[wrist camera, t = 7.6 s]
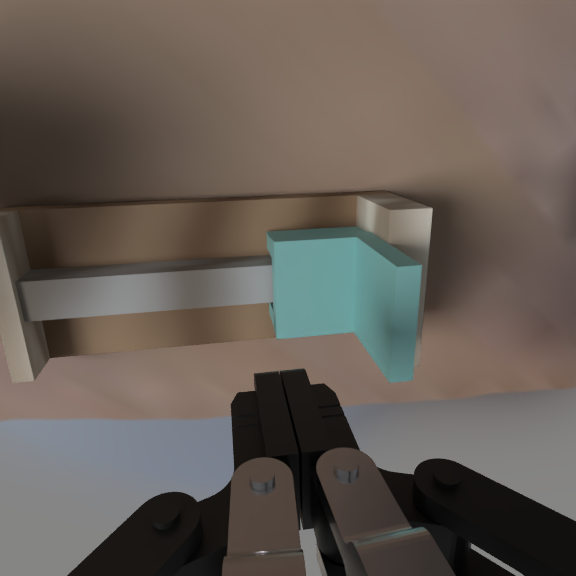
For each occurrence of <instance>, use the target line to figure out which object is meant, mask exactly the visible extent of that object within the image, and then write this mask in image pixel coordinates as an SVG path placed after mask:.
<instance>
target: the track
mask: <svg viewBox="0 0 576 576" xmlns="http://www.w3.org/2000/svg"><path fill="white" fill-rule="evenodd" d="M432 211H433V208H431V207H428V206H426V205H423V204H420V203H417V202H414V201H412V200H409V199H406V198H403V197H401V196H398V195H395V194H392V193H390V192H387V191H366V192H343V193H321V194H298V195H275V196H253V197H230V198H208V199H185V200H163V201H140V202H118V203H95V204H72V205H50V206H27V207H6V208H3V209H0V336H1V340H2V344H3V348H4V352H5V356H6V360H7V363H8V367H9V371H10V375H11V379H12V383H18V382H28V381H35V379H36V378H37V376H38V375H39V373H40V372H41V370H42V369H43V367H44V366H45V365H46V363H47V362H48V360H49V359H50V358H55V357H66V356H77V355H89V354H100V353H111V352H122V351H133V350H144V349H155V348H166V347H177V346H188V345H199V344H210V343H221V342H232V341H243V340H254V339H265V338H276V335H275V332H274V326H273V323H272V320H271V317H270V314H269V303H270V302H273V278H272V257H271V255H270V253H269V251H268V249H267V236H266V231H284V230H302V229H320V228H338V227H356V226H358V227H359V228H361V229H362V230H364V231H365V232H371V233H373V234H375V235H376V236H378V237H379V238H381V239H382V240H384V241H385V242H387V243H389V244H390V245H392V246H393V247H395V248H396V249H398V250H399V251H401V252H402V253H404V254H406V255H407V256H409V257H410V258H412V259H413V260H415V261H416V262H418V263H419V264H421V265H422V272H421V284H420V297H419V309H418V321H417V333H416V346H415V358H414V367H419V362H420V351H421V339H422V327H423V316H424V304H425V292H426V281H427V269H428V258H429V246H430V234H431V223H432Z"/></svg>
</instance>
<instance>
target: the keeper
mask: <svg viewBox="0 0 576 576" xmlns="http://www.w3.org/2000/svg"><path fill="white" fill-rule="evenodd" d="M266 236H267V249H268V251H269V253H270V255H271V257H272V278H273V302H270V303H269V314H270V317H271V320H272V323H273V326H274V332H275V335H276V338H277V339H284V338H295V337H306V336H317V335H328V334H339V333H350V332H354V333H355V335H356V336H357V337H358V339H359V340H360V342H361V343H362V344H363V346H364V347H365V349H366V350H367V351H368V353H369V354H370V356H371V357H372V358H373V360H374V361H375V363H376V364H377V365H378V367H379V368H380V370H381V371H382V373H383V374H384V375H385V377H386V378H387V380H388V381H389V382H390V383H392V382H401V381H410V380H413V370H414V358H415V346H416V333H417V321H418V309H419V297H420V284H421V272H422V265H421V264H419V263H418V262H416V261H415V260H413V259H412V258H410V257H409V256H407V255H406V254H404V253H402V252H401V251H399V250H398V249H396V248H395V247H393V246H392V245H390V244H389V243H387V242H385V241H384V240H382V239H381V238H379V237H378V236H376V235H375V234H373V233H371V232H365V231H364V230H362V229H361V228H359V227H358V226H356V227H338V228H320V229H302V230H284V231H266Z"/></svg>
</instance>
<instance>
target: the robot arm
mask: <svg viewBox="0 0 576 576" xmlns="http://www.w3.org/2000/svg"><path fill="white" fill-rule="evenodd" d="M254 386H255V391H248V392H239V393H237V395H236V396H235V398H234V400H233V401H232V403H231V416H232V433H233V434H232V435H233V454H234V473H233V476H232V479H231V480H230V482H229V483H228V484H227V486H226V487H225V488H224V489H222V490H221V491H220V492H218V493H217V494H215V495H213V496H211V497H209V498H206V499H204V500H201V501H199V502H197V501H196V500H195V499H194V498H193V497H191V496H190V495H188V494H185V493H181V492H168V493H164V494H160V495H158V496H155V497H153V498H151V499H150V500H148V501H147V502H145V503H144V504H143V505H142V506H141V507H139V509H137V510H136V511H135V512H134V513H133V514H132V515H131V516H130V517H129V518H128V519H127V520H126V521H125V522H124V523H123V524H122V525H120V526H119V527H118V528H117V529H116V530H115V531H114V532H113V533H112V534H111V535H110V536H109V537H108V538H107V539H106V540H104V542H102V543H101V544H100V545H99V546H98V547H97V548H96V549H95V550H94V551H93V552H92V553H91V554H90V555H89V556H87V557H86V558H85V559H84V560H83V561H82V562H81V563H80V564H79V565H78V566H77V567H76V568H75V569H74V570H73V571H72V572H71V573H69V574H68V576H306V570H305V561H304V554H303V550H302V549H301V545H300V536H299V530H300V517H301V522H302V527H303V530H304V529H311V528H314V531H315V536H316V540H317V560H318V564H319V567H320V570H321V573H322V576H515V575H514V574H512V573H510V572H509V571H507V570H505V569H504V568H502V567H500V566H499V565H497V564H496V563H494V562H492V561H490V560H489V559H487V558H485V557H484V556H482V555H481V554H479V553H478V552H476V551H474V550H473V549H471V543H472V544H474V545H476V546H477V547H479V548H480V549H482V550H484V551H485V552H487V553H489V554H490V555H492V556H494V557H495V558H497V559H499V560H500V561H502V562H504V563H505V564H507V565H509V566H510V567H512V568H514V569H515V570H517V571H519V572H520V573H522V574H523V575H524V576H576V521H574V520H572V519H570V518H568V517H566V516H564V515H562V514H560V513H558V512H555V511H554V510H552V509H550V508H548V507H546V506H544V505H542V504H540V503H538V502H536V501H534V500H532V499H530V498H528V497H526V496H524V495H522V494H520V493H518V492H515V491H513V490H512V489H510V488H508V487H506V486H504V485H501V484H499V483H497V482H495V481H493V480H491V479H489V478H487V477H485V476H483V475H481V474H479V473H477V472H475V471H473V470H471V469H469V468H467V467H465V466H463V465H461V464H459V463H457V462H454V461H451V460H447V459H429V460H426V461H423V462H422V463H420V464H419V465H418V466H417V467H416V469H415V471H414V475H412V474H404V473H396V472H390V471H386V470H383V469H380V468H378V467H377V466H376V465H375V463H374V461H373V460H372V459H371V458H370V457H369V456H368V455H366V454H365V453H363V452H362V451H360V449H359V447H358V445H357V442H356V440H355V438H354V435H353V433H352V431H351V428H350V426H349V424H348V422H347V419H346V417H345V416H344V412H343V410H342V407H340V403H339V400H338V398H337V396H336V393H335V392H334V391H333V390H331V389H330V388H329V387H328V386H326V385H325V384H324V383H323V384H314V385H310V382H309V379H308V376H307V373H306V371H305V369H294V370H284V371H280V375H279V371H275V372H265V373H255V374H254Z"/></svg>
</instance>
